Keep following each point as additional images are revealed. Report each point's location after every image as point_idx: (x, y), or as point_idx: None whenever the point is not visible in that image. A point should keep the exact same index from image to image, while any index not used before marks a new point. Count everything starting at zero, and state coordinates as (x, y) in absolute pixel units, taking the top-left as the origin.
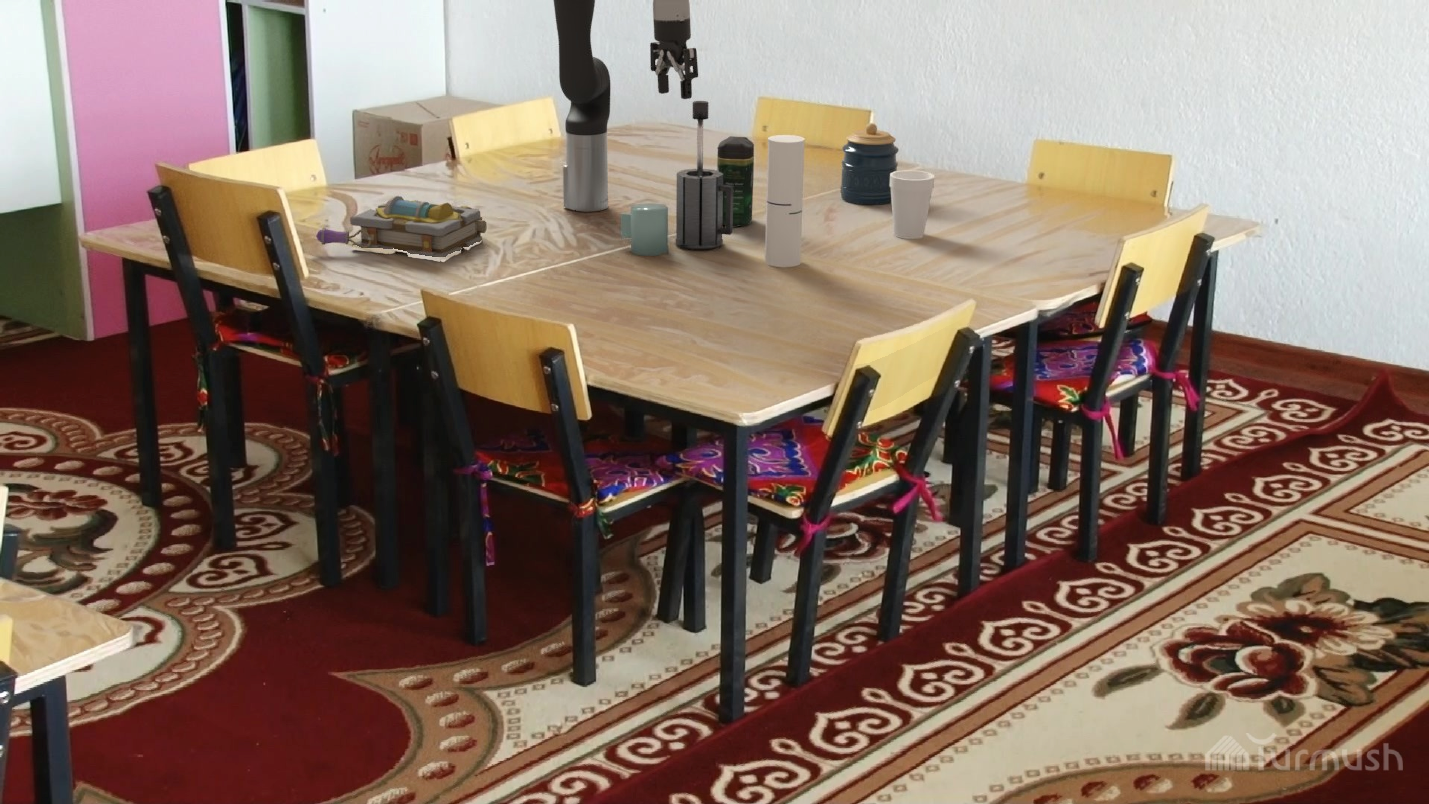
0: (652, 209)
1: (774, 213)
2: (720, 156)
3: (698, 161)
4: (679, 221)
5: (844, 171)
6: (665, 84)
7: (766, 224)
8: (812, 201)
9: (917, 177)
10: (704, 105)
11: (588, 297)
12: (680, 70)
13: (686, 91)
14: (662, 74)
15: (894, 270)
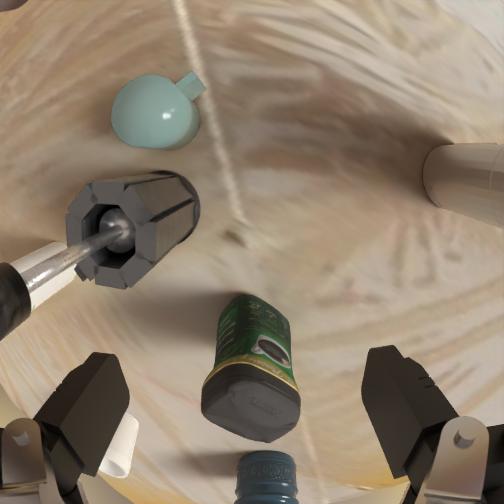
0: (131, 111)
1: None
2: (237, 365)
3: (87, 238)
4: (151, 175)
5: (274, 475)
6: (380, 414)
7: (30, 258)
8: (290, 432)
9: (121, 471)
10: None
11: (62, 9)
12: (3, 480)
13: (62, 384)
14: (419, 456)
15: (27, 334)
